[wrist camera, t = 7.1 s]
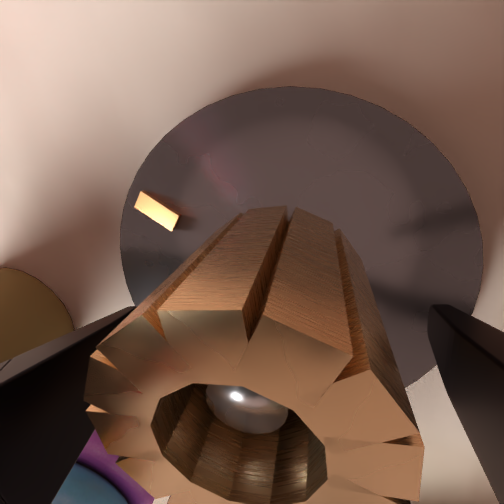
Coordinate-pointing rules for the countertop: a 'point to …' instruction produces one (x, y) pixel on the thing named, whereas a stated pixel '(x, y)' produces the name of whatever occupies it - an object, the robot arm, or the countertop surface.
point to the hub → (310, 211)
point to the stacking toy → (100, 480)
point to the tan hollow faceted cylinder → (260, 374)
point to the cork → (28, 314)
